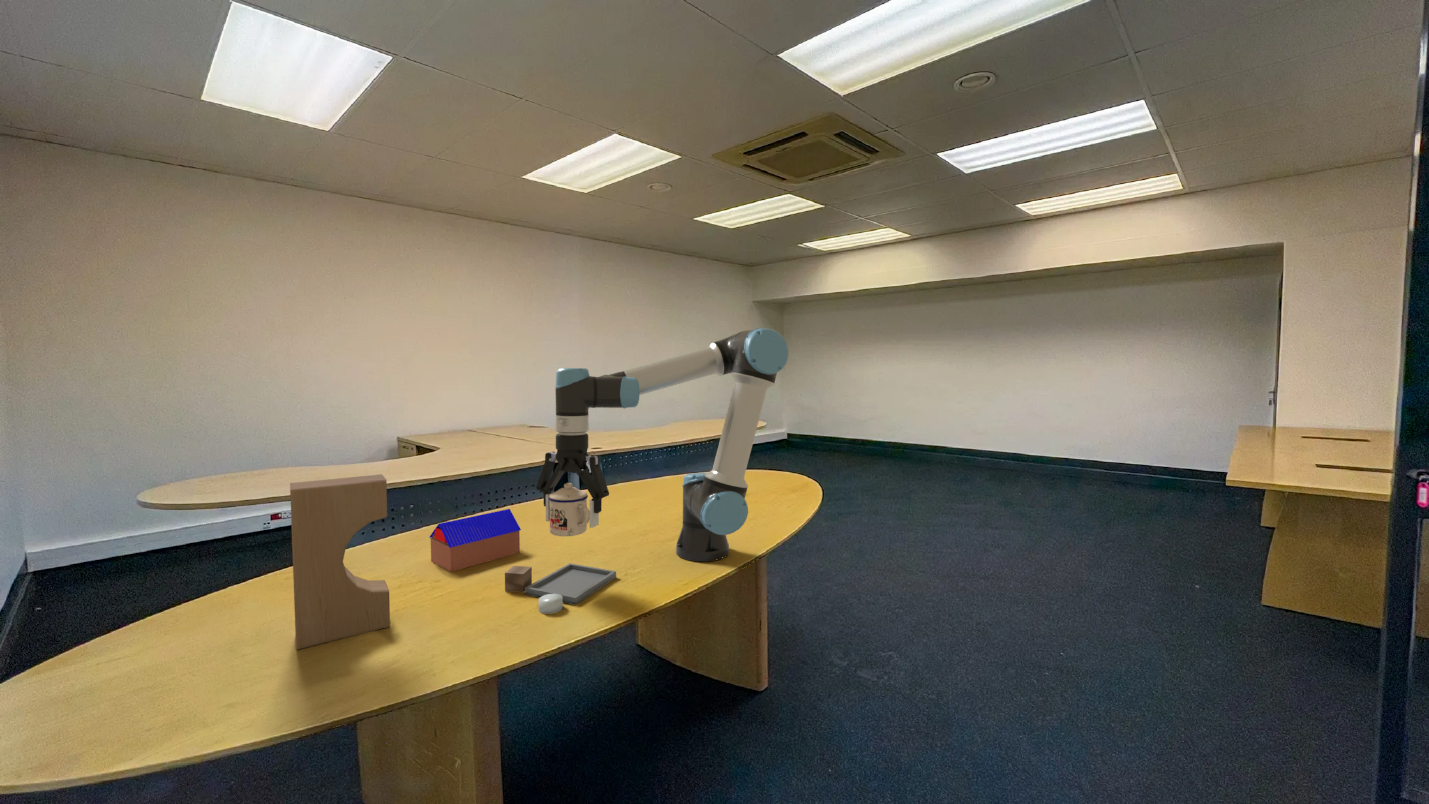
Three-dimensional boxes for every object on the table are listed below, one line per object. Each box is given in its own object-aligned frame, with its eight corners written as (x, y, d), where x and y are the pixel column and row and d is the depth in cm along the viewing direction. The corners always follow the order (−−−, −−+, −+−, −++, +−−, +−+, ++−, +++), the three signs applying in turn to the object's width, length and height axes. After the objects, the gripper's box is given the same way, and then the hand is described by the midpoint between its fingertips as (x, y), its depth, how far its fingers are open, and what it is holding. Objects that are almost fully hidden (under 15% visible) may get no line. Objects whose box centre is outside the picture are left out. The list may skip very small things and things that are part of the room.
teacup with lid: (540, 532, 129) (540, 484, 128) (571, 523, 136) (571, 478, 136) (572, 542, 122) (572, 491, 121) (603, 533, 129) (603, 485, 128)
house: (521, 553, 153) (521, 512, 152) (450, 573, 137) (449, 528, 136) (499, 543, 160) (498, 505, 159) (429, 562, 145) (428, 519, 144)
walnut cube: (531, 584, 130) (531, 566, 130) (523, 592, 126) (523, 573, 126) (513, 583, 131) (513, 565, 131) (504, 591, 126) (504, 572, 126)
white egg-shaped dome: (567, 606, 119) (567, 596, 119) (552, 616, 115) (552, 605, 114) (548, 602, 121) (548, 592, 121) (533, 612, 116) (533, 601, 116)
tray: (616, 577, 135) (616, 571, 135) (575, 605, 120) (575, 598, 120) (569, 569, 140) (569, 563, 140) (524, 594, 125) (524, 587, 125)
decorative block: (296, 650, 99) (290, 490, 97) (295, 634, 105) (289, 482, 103) (390, 627, 108) (386, 480, 106) (385, 613, 114) (381, 473, 112)
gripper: (520, 431, 128) (520, 520, 130) (607, 438, 120) (606, 533, 121) (541, 428, 135) (541, 513, 137) (624, 434, 127) (623, 524, 128)
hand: (572, 523), depth 129 cm, fingers closed on teacup with lid, 12 cm apart
